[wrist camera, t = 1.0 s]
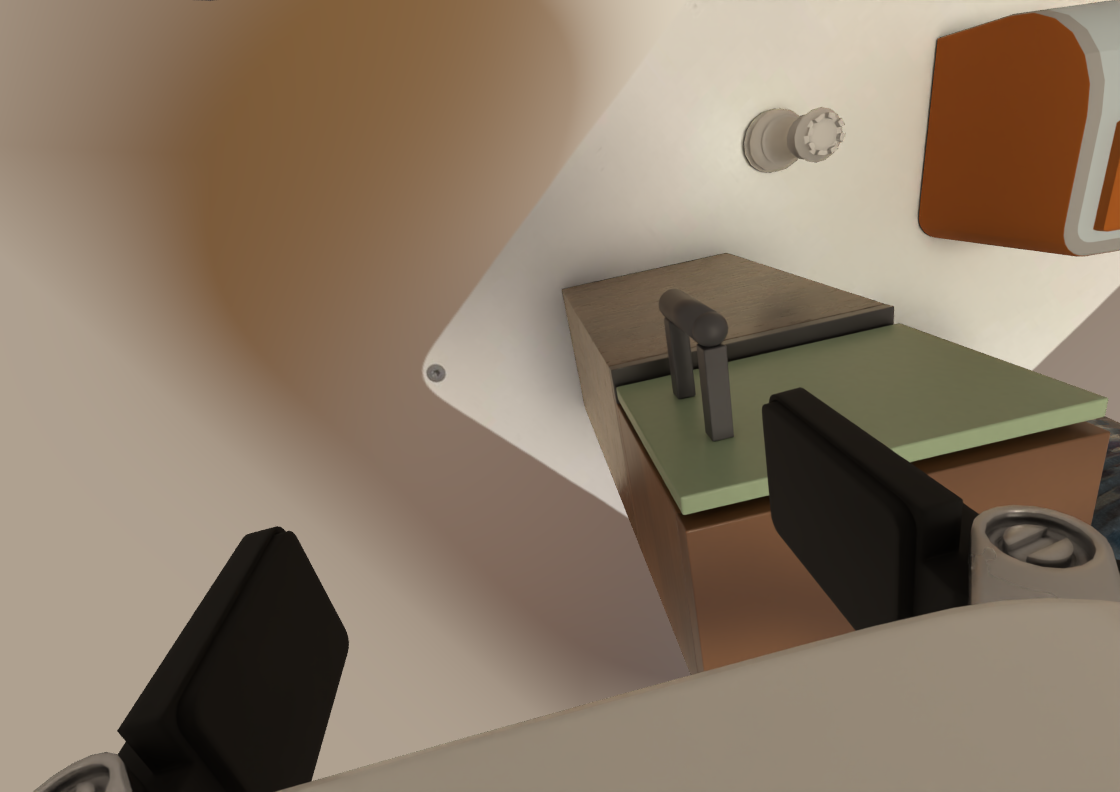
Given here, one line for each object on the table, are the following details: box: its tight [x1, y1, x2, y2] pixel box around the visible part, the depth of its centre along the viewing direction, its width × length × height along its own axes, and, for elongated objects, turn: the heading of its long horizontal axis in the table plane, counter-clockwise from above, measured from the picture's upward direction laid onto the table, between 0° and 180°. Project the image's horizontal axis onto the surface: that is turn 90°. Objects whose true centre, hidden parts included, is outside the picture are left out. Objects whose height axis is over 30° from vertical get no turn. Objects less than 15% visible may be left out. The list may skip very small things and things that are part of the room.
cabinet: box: [562, 253, 1110, 675], centre depth 33 cm, size 11×14×31 cm
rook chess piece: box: [744, 107, 845, 173], centre depth 39 cm, size 4×4×8 cm
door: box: [616, 289, 1108, 515], centre depth 21 cm, size 5×14×10 cm, turn 101°
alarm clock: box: [919, 0, 1120, 256], centre depth 38 cm, size 15×8×14 cm, turn 8°
